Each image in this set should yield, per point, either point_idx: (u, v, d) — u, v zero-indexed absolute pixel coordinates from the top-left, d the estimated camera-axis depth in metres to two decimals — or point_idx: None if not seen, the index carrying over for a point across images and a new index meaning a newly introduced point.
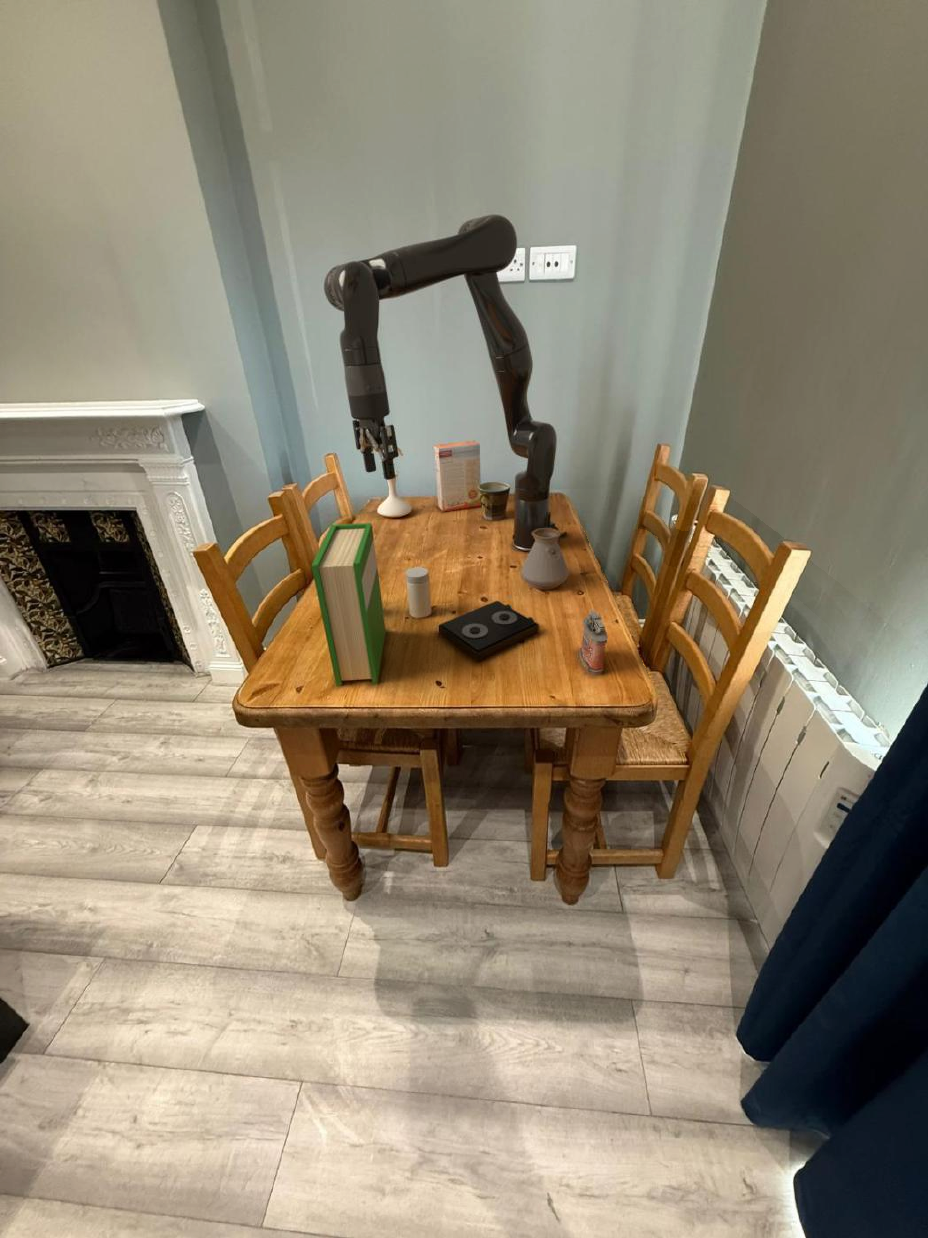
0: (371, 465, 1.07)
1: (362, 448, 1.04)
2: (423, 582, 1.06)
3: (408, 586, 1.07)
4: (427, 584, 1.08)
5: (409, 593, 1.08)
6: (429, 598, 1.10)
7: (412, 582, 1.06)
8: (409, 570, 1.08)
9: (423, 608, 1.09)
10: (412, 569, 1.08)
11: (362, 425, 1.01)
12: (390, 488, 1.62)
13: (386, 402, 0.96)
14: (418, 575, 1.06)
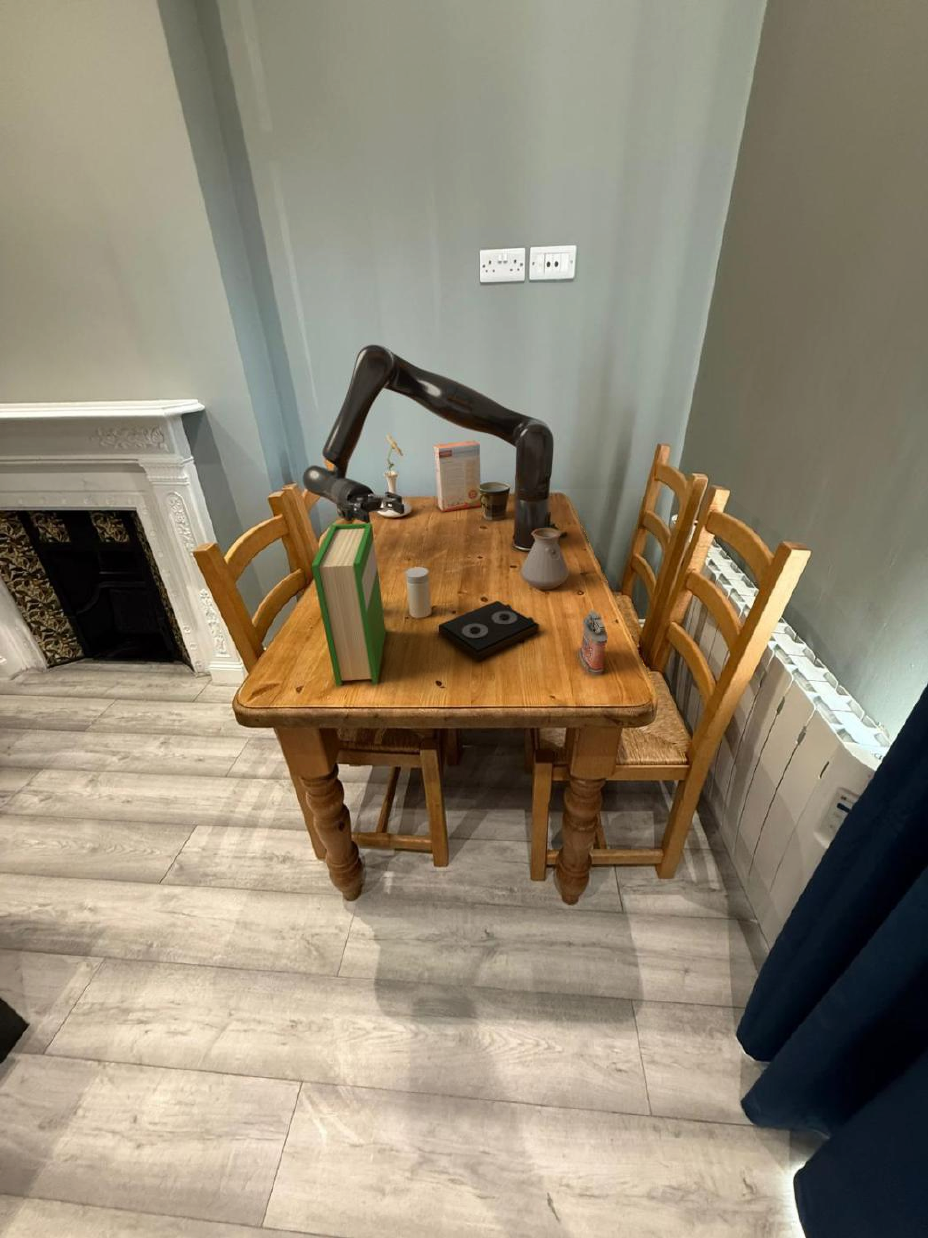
0: (398, 508, 1.13)
1: None
2: (423, 582, 1.06)
3: (408, 586, 1.07)
4: (427, 584, 1.08)
5: (409, 593, 1.08)
6: (429, 598, 1.10)
7: (412, 582, 1.06)
8: (409, 570, 1.08)
9: (423, 608, 1.09)
10: (412, 569, 1.08)
11: None
12: (390, 488, 1.62)
13: (343, 492, 1.17)
14: (418, 575, 1.06)
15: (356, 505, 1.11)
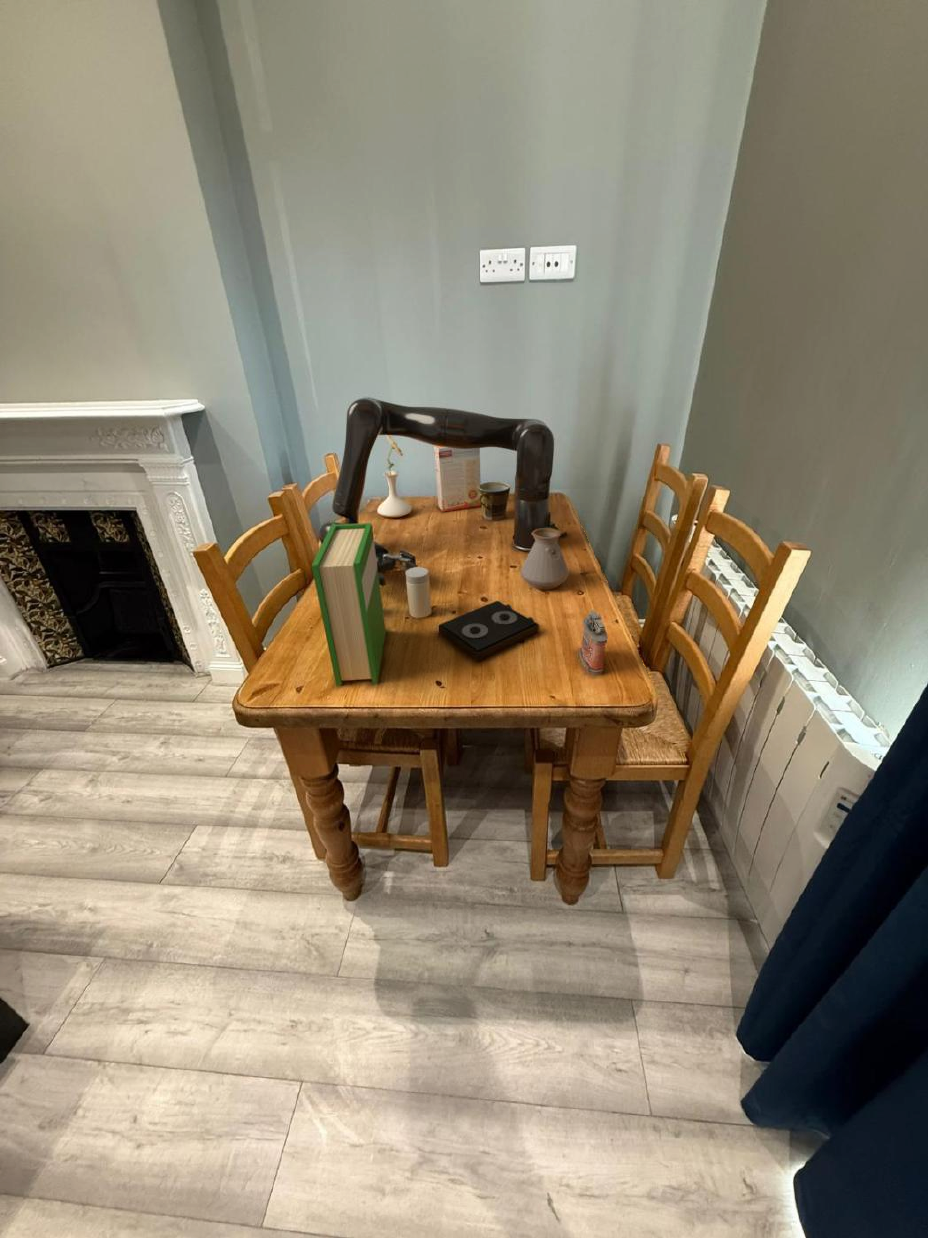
0: None
1: None
2: (423, 582, 1.06)
3: (408, 586, 1.07)
4: (427, 584, 1.08)
5: (409, 593, 1.08)
6: (429, 598, 1.10)
7: (412, 582, 1.06)
8: (409, 570, 1.08)
9: (423, 608, 1.09)
10: (412, 569, 1.08)
11: None
12: (390, 488, 1.62)
13: None
14: (418, 575, 1.06)
15: None
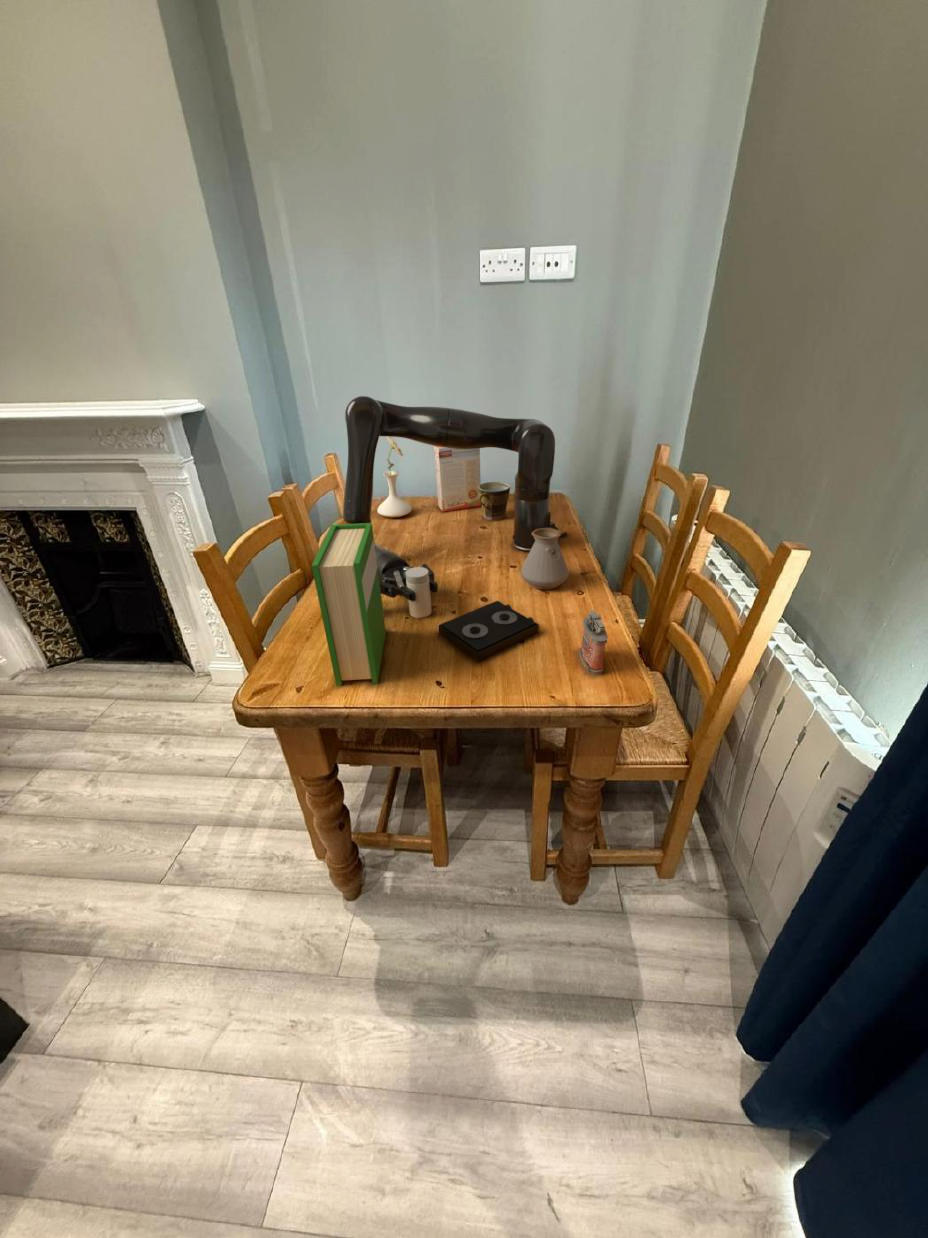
0: (431, 586, 1.10)
1: None
2: (423, 582, 1.06)
3: (408, 586, 1.07)
4: (427, 584, 1.08)
5: None
6: (429, 598, 1.10)
7: (412, 582, 1.06)
8: (409, 570, 1.08)
9: (423, 608, 1.09)
10: (412, 569, 1.08)
11: None
12: (390, 488, 1.62)
13: (378, 564, 1.15)
14: (418, 575, 1.06)
15: (398, 581, 1.10)
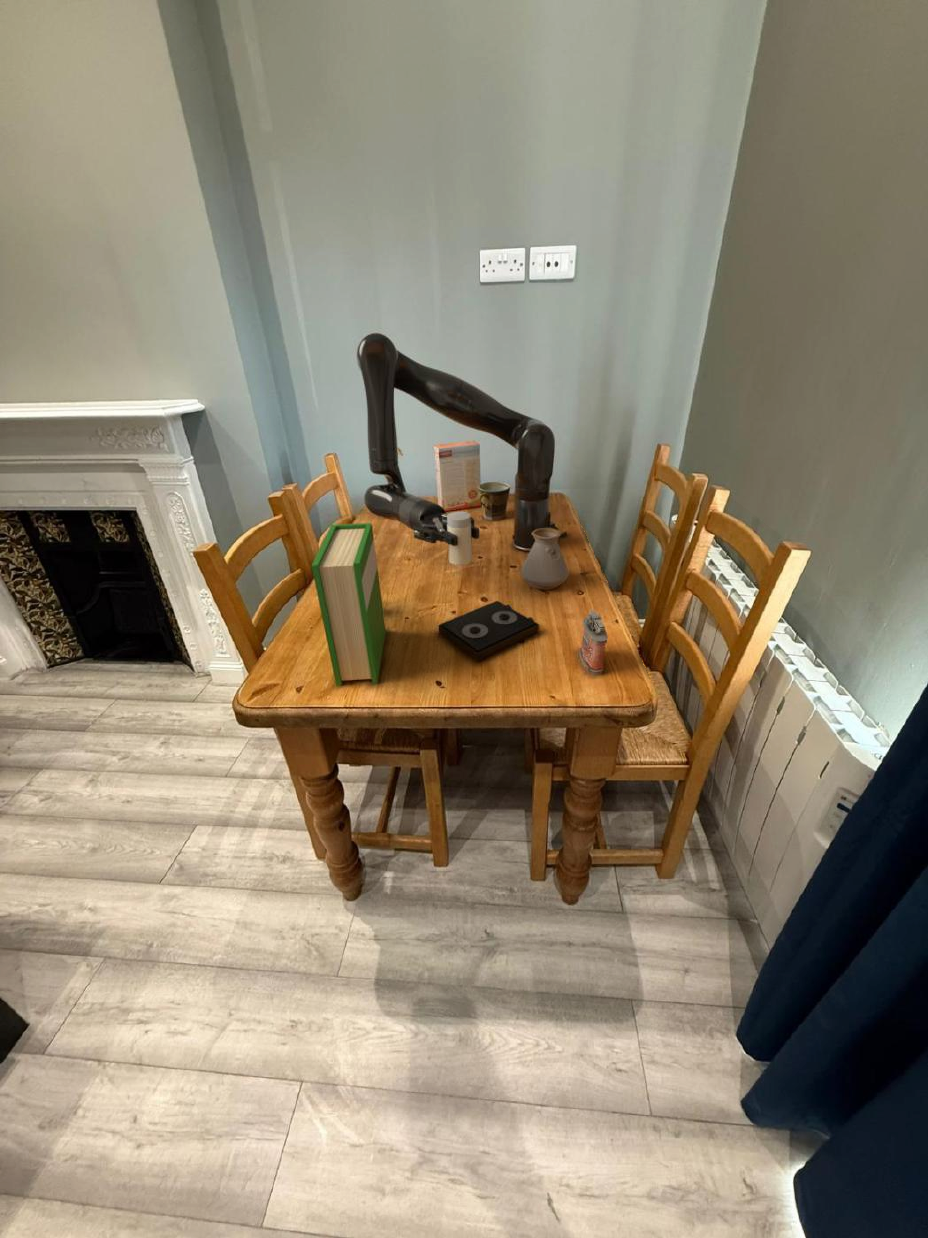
0: (472, 532, 1.05)
1: None
2: (465, 526, 1.02)
3: (449, 530, 1.03)
4: (469, 528, 1.03)
5: None
6: (470, 544, 1.05)
7: (454, 526, 1.01)
8: (450, 514, 1.03)
9: (464, 554, 1.05)
10: (453, 513, 1.04)
11: None
12: None
13: (415, 511, 1.10)
14: (461, 518, 1.01)
15: (438, 526, 1.05)
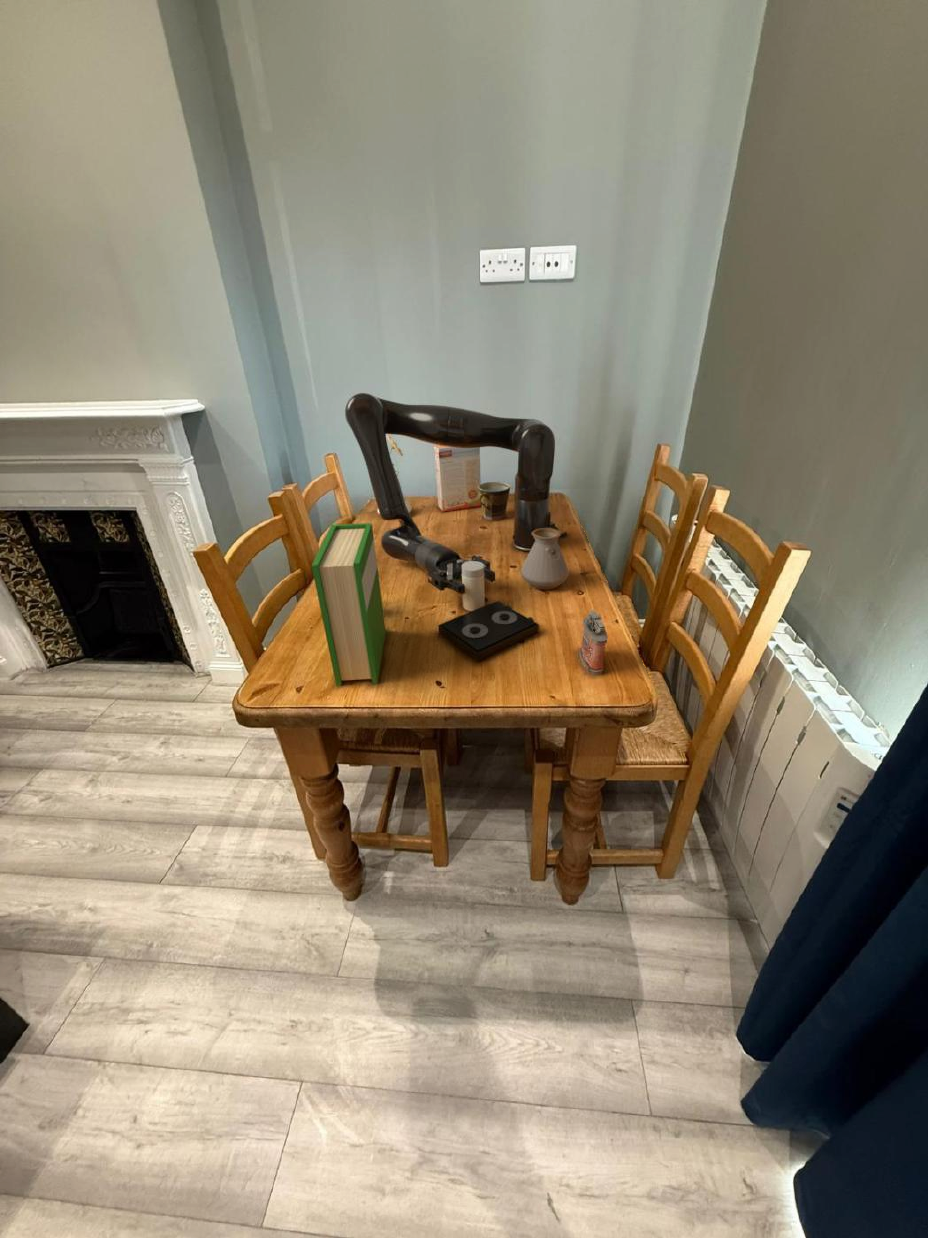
0: (489, 575, 1.12)
1: None
2: (479, 576, 1.08)
3: (464, 580, 1.09)
4: (483, 578, 1.09)
5: (465, 587, 1.10)
6: (483, 592, 1.11)
7: (469, 576, 1.08)
8: (465, 564, 1.10)
9: (478, 601, 1.11)
10: (467, 563, 1.10)
11: None
12: None
13: (431, 557, 1.16)
14: (475, 569, 1.07)
15: (448, 574, 1.11)
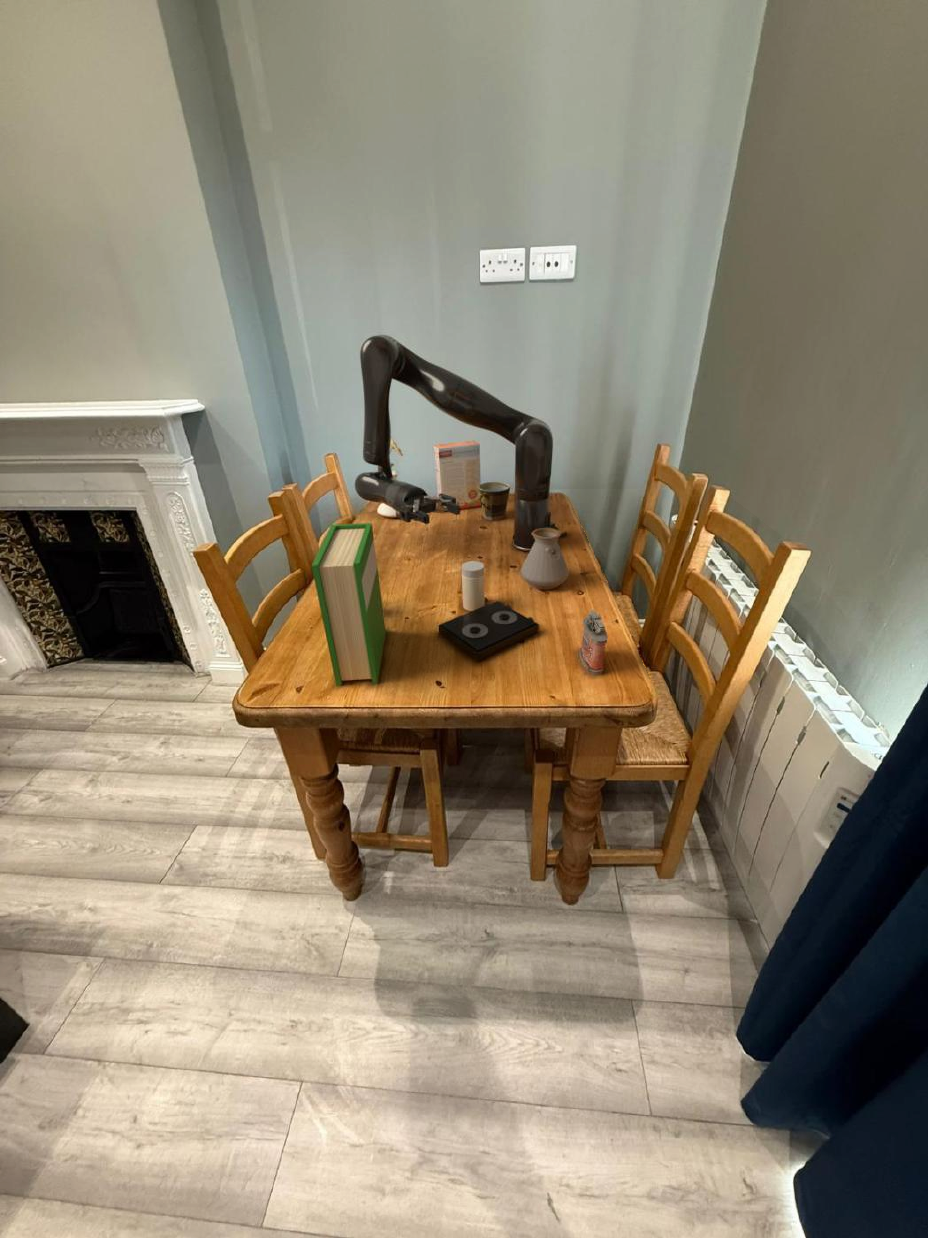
0: (454, 509, 1.17)
1: None
2: (479, 576, 1.08)
3: (464, 580, 1.09)
4: (483, 578, 1.09)
5: (465, 587, 1.10)
6: (483, 592, 1.11)
7: (469, 576, 1.08)
8: (465, 564, 1.10)
9: (478, 601, 1.11)
10: (467, 563, 1.10)
11: None
12: None
13: (400, 494, 1.22)
14: (475, 569, 1.07)
15: (414, 507, 1.16)
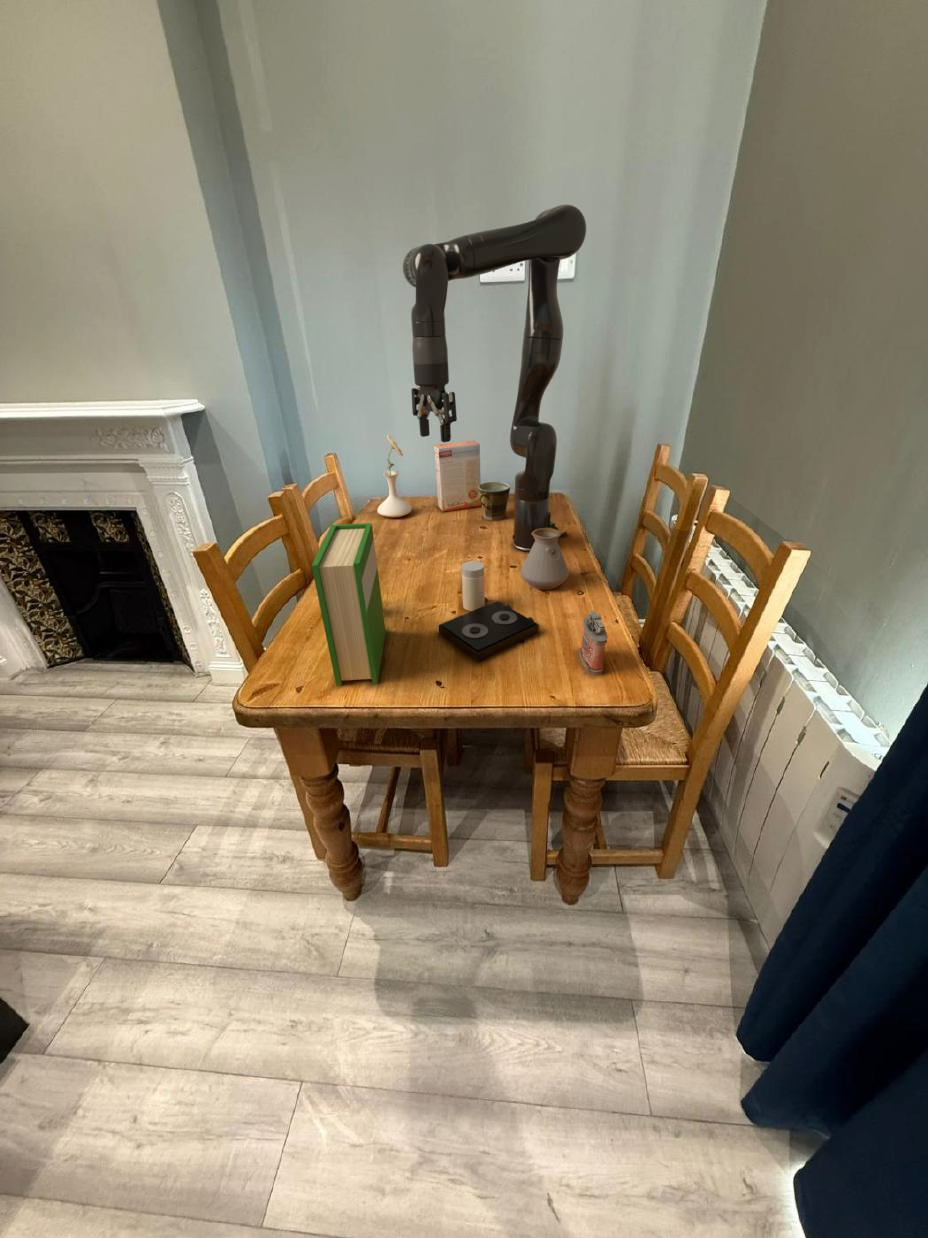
0: (425, 430, 1.19)
1: (419, 414, 1.16)
2: (479, 576, 1.08)
3: (464, 580, 1.09)
4: (483, 578, 1.09)
5: (465, 587, 1.10)
6: (483, 592, 1.11)
7: (469, 576, 1.08)
8: (465, 564, 1.10)
9: (478, 601, 1.11)
10: (467, 563, 1.10)
11: (422, 392, 1.12)
12: (390, 488, 1.62)
13: (447, 372, 1.08)
14: (475, 569, 1.07)
15: None
